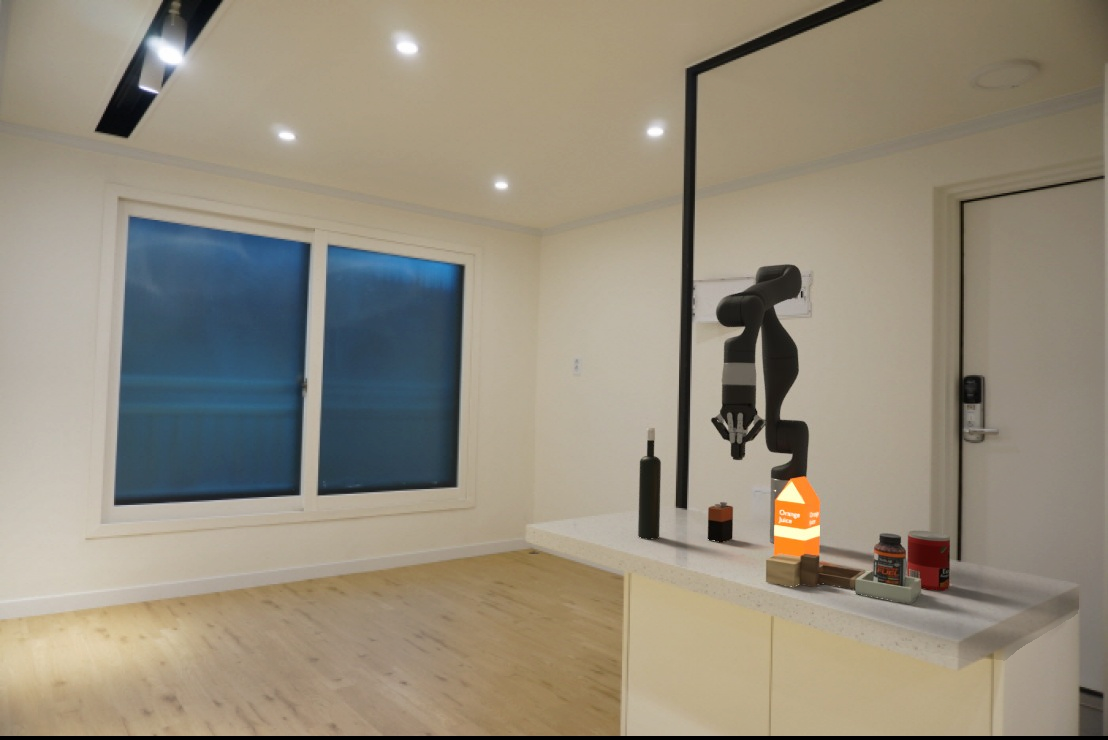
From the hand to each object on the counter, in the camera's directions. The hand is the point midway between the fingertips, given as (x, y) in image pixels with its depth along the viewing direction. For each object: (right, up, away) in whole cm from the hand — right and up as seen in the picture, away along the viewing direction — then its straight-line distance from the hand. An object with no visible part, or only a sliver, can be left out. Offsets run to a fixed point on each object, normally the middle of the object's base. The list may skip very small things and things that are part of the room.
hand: (737, 459), depth 159 cm
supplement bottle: (+26, -25, -17) cm, 40 cm away
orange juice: (+17, -26, +11) cm, 33 cm away
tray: (+26, -25, -17) cm, 40 cm away
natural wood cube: (+8, -25, -9) cm, 28 cm away
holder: (+19, -25, -8) cm, 33 cm away
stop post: (+12, -25, -11) cm, 30 cm away
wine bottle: (-16, -26, +34) cm, 45 cm away
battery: (+4, -26, +32) cm, 42 cm away
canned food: (+38, -26, -10) cm, 47 cm away
